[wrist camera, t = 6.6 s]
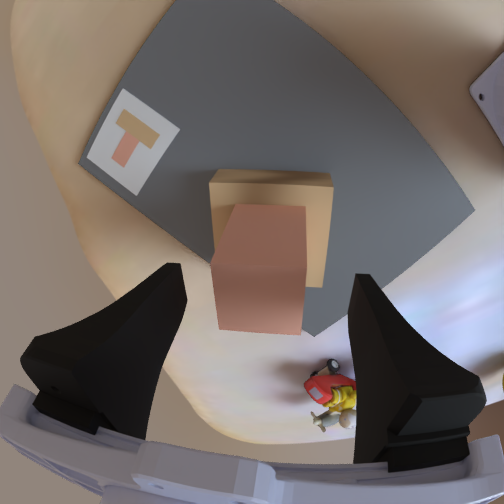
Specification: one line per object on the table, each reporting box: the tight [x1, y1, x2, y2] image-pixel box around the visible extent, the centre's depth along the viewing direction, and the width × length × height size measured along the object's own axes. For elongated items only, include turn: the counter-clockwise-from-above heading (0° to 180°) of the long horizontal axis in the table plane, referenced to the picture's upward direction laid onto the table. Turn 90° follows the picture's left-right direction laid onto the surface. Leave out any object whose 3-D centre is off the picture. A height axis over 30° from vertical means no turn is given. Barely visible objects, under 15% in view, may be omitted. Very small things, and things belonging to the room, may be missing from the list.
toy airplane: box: [304, 359, 356, 432], centre depth 28 cm, size 9×9×6 cm
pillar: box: [210, 204, 307, 335], centre depth 17 cm, size 4×4×6 cm
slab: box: [209, 169, 334, 288], centre depth 20 cm, size 7×7×2 cm
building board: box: [78, 0, 475, 337], centre depth 20 cm, size 24×17×1 cm
